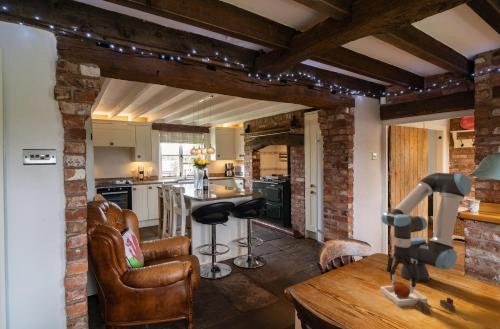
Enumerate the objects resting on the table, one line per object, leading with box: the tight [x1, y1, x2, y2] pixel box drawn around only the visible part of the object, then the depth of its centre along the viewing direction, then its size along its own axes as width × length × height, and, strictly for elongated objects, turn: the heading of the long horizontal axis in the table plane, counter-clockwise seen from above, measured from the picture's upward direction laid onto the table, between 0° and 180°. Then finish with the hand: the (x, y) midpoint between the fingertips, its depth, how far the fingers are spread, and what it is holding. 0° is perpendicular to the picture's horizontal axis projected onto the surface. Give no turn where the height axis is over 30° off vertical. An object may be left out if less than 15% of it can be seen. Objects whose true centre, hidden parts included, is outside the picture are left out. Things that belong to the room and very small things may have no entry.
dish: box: [380, 285, 428, 308], centre depth 143 cm, size 15×15×3 cm
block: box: [415, 297, 456, 315], centre depth 132 cm, size 16×6×4 cm, turn 97°
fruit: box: [394, 281, 410, 299], centre depth 143 cm, size 8×8×8 cm
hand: (402, 289), depth 143 cm, fingers closed on fruit, 8 cm apart
